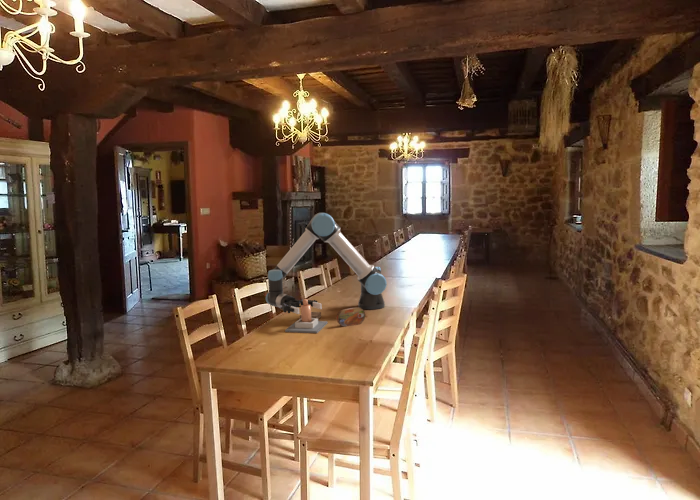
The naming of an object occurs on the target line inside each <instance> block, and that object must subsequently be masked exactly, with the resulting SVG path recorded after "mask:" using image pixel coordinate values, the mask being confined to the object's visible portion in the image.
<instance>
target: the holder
mask: <svg viewBox="0 0 700 500" xmlns="http://www.w3.org/2000/svg"><path fill="white" fill-rule="evenodd" d="M327 324H328V321H327V320H324V321H323V320H319V319H316V318H312V322H311V323H308V322H302V321H301V318H300V317H299V319H298V320H296V321H295V322H293V323H292V324H290V325H289V326H288V327H287V328H286V329H285V331H284V332H285V333H298V334H299V333H300V334H301V333H303V334H318V333H319V332H321V330H322V329H324V327H325V326H326V325H327Z"/></svg>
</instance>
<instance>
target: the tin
mask: <svg viewBox="0 0 700 500" xmlns="http://www.w3.org/2000/svg"><path fill="white" fill-rule="evenodd" d="M365 319H366V312H365V309H361V308H359V307H350V308H344V309H341V310H339V311H338V313H337V315H336V321H337V324H338V325H340V326H342V327H345V328H346V327H349V326H350V327H351V326H354V325H355V326H357V325H361V324H362V323H363V322H364V321H365Z"/></svg>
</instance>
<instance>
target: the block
mask: <svg viewBox="0 0 700 500" xmlns="http://www.w3.org/2000/svg"><path fill="white" fill-rule="evenodd" d="M321 317H322V312H321V311H311V318H316V319H318V320H319V319H320V318H321ZM300 318H301V314H299V319H300Z"/></svg>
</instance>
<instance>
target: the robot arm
mask: <svg viewBox="0 0 700 500" xmlns="http://www.w3.org/2000/svg"><path fill="white" fill-rule="evenodd" d="M319 239H321V241H323V243H328V244H329V245H330V246H331V247H332V248H333V249H334V251H335V252H336V253H337V254H338V255H339V256H340V257H341V259H342V260H343V261H344V263H346V264H347V265H348V267H349V268H350V269H351V270H352V271H353V272H354V273H355V274H356V275H357V279H356V280H357V281H358V282H359V283H360V294H359V295H360V297H359V300H358V303H357V304H358V305H357V306H358V308H361V309H363V310H379V309H383V308H385V307H386V306H385V305H386V304H385V300H384V299H385V298H384V297H383V295H382V293H383V292H384V291H386V288H387V286H388V284H387V279H386V277H385V276H384V275H383V274H382V269H381V267H380V266H375V265H373V264H369V262H368V261H367V260H366V259H365V258H364V257H363V255H361V254H360V252H359V251H358V250H357V249H356V248H355V246H354V245H352V243H351V242H350V241H349V240H348V239H347V238H346V237H345V236H344V234H343V233H342V232H341V226H340V225H339V224H338V223H337V222H336V221H335V220H334V218H333V217H332V215H330V214H329V213H326V212H325V211H324V212H318V213H317V212H316V213H315V214H314V215H313V216H312V218H311V220H310V221H309V222H308V224H307V226H306V227H305V230H304V232H303V233H302V234H301V236H300V237H299V238H298V239H297V240H296V242H295V243H294V244H293V245H292V247H291V248H290V249H289V250H288V252H287V253H286V254H285V255H284V256H283V257H282V258H281V260H280V261H279V262H278V264H277V265H276V266H275V267H274V268H273V269H270V270H268V272H267V284H268V292H267V293H266V295H265V301H266V303H267V304H268V305H270V306H272V307H277V308H278V309H280V310H281V309H282V311H283V313H287V314H291V313H294V314H296V315H301V312H300V308H301V305H303V299H304V298H301V299H296V298H295V297H294V296H293V295H290V294H289V295H288V294H286V293H284V284H283V283H284V282H283V281H284V279H285V278H286V277H287V276H288V274H289V272H290V271H291V270H292V269H293V268H294V266H295V265H296V264H297V263H298V262H299V261H300V260H301V258H302V257H303V256H304V255H305V253H306V252H307V251H308V250H309V248H310V247H311V246H312V245H313V244H314V243H315V242H316V240H319ZM308 304H309V305H311V308H314V309H318V310H322V309H323V307H322V303H320V302H318V300H316V299H313V300H312V299H308Z"/></svg>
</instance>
